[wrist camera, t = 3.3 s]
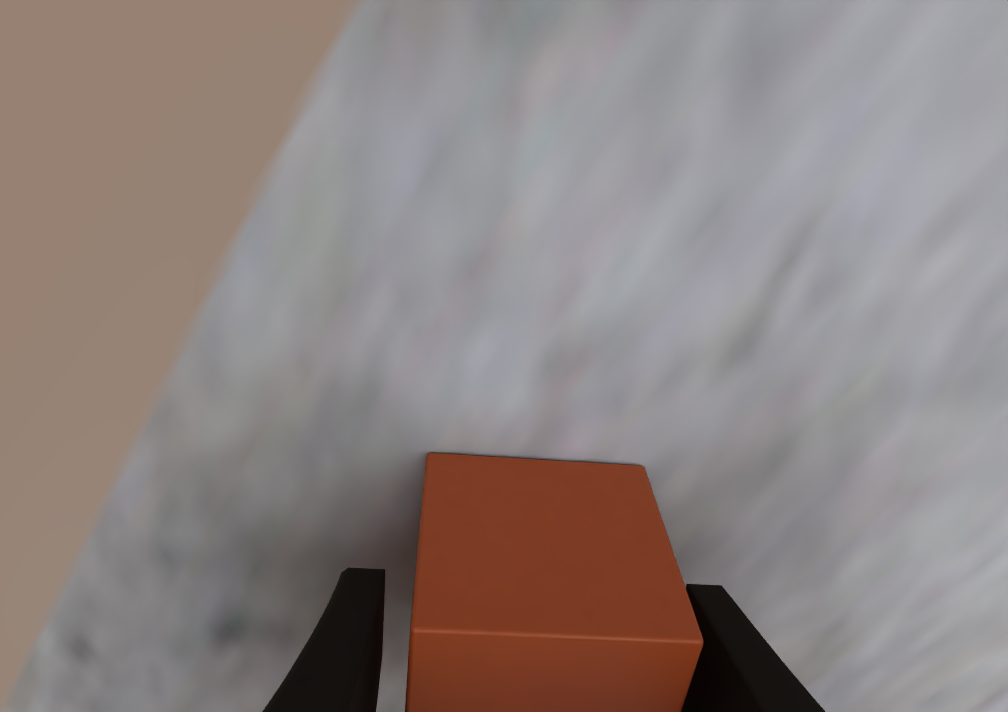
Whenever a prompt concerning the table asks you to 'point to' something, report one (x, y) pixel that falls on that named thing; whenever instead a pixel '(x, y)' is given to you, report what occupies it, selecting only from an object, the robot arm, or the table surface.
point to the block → (546, 591)
